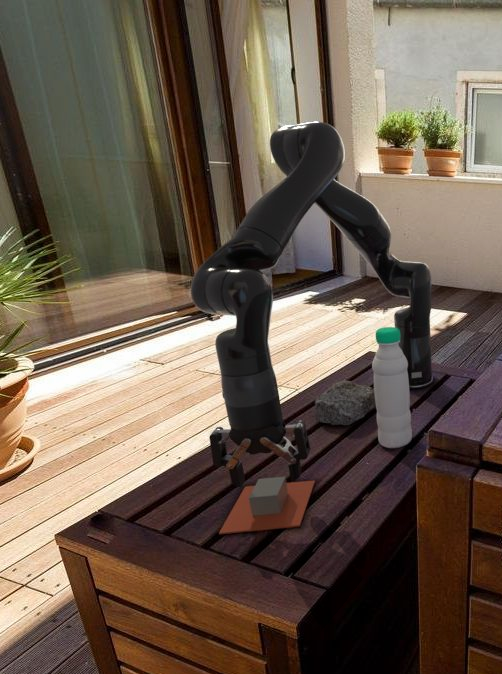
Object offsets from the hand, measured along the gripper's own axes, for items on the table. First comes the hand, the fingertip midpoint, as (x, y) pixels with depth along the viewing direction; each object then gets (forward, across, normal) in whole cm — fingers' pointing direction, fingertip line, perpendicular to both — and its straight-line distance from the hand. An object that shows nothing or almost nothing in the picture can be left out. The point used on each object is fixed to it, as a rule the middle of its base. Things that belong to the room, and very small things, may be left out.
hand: (268, 482), depth 79 cm
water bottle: (+5, -20, -18) cm, 27 cm away
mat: (+5, 0, 0) cm, 5 cm away
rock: (+5, -8, -33) cm, 34 cm away
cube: (+4, 0, 0) cm, 4 cm away
